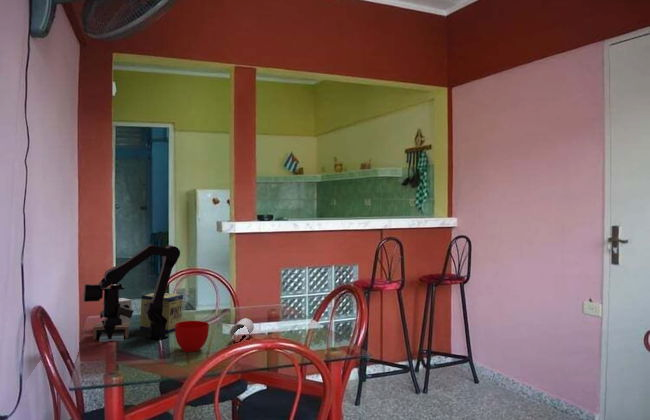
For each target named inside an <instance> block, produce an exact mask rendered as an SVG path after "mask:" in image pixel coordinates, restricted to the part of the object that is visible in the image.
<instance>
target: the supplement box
mask: <svg viewBox="0 0 650 420" xmlns="http://www.w3.org/2000/svg"><path fill="white" fill-rule="evenodd" d="M119 304H120V306H123V305H125V304H127V305H129V308H131V309H132V299H129V298H125V297H121V298H120V297H119ZM120 318H121V320H122V323H124V322H129V328H130V327H131V318H128V317H126V316H122V315H120Z"/></svg>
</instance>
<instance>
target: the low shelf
mask: <svg viewBox="0 0 650 420" xmlns="http://www.w3.org/2000/svg"><path fill="white" fill-rule="evenodd" d="M115 331H125V337H124V339H125V338H128V339H129V332H130V327H129V322H124V323H122V325H119V326H115V328H114V332H115ZM92 332H93V333H92V340H93V341H96V340H97V338H98V336H99V337H100V336H101V334H102V332H106V331H105V329H104V326H103V324H102V322H101V323H100V322H97V323H94V326H93V331H92Z"/></svg>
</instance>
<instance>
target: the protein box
mask: <svg viewBox="0 0 650 420" xmlns="http://www.w3.org/2000/svg"><path fill="white" fill-rule="evenodd" d="M153 295H154V292H151V293H147V294H142V295H141V299H140V300H141V302H140V304H141V305H140V320H139V321H140V323H139V330H142V329H145V330H144V331H149V330H150V323H151V321H150V320H149V319H148V317H147V316H146V315H145V310H144V309H145V307H146V303H147V301H151V299H152V298H153ZM183 304H184V294H176V293H167V292H165V295H164V298H163V312H162V316H164V317H165V318H166V319H167V323H166V331H165V334H170V333H173V332H175V324H176V323H179V322H183V309H184V308H183V307H184V306H183Z"/></svg>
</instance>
